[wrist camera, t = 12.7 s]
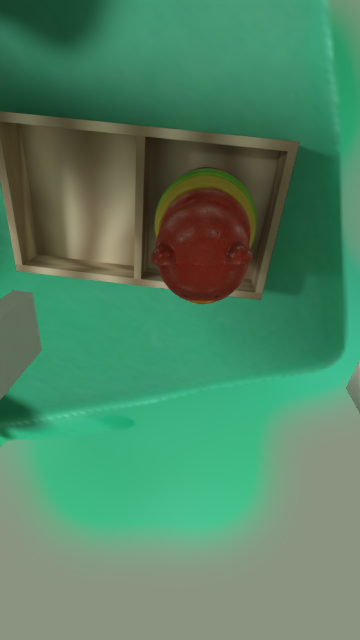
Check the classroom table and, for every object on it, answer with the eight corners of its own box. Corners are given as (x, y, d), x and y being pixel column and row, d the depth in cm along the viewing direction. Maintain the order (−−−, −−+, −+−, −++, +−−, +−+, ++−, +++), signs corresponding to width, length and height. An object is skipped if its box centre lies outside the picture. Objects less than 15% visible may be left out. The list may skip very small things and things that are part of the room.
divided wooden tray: (35, 258, 40) (16, 270, 36) (14, 114, 32) (-13, 110, 28) (255, 284, 39) (260, 299, 35) (288, 142, 31) (299, 141, 27)
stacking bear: (156, 254, 38) (118, 330, 22) (159, 160, 33) (112, 174, 17) (246, 262, 37) (271, 345, 22) (262, 168, 32) (310, 190, 17)
